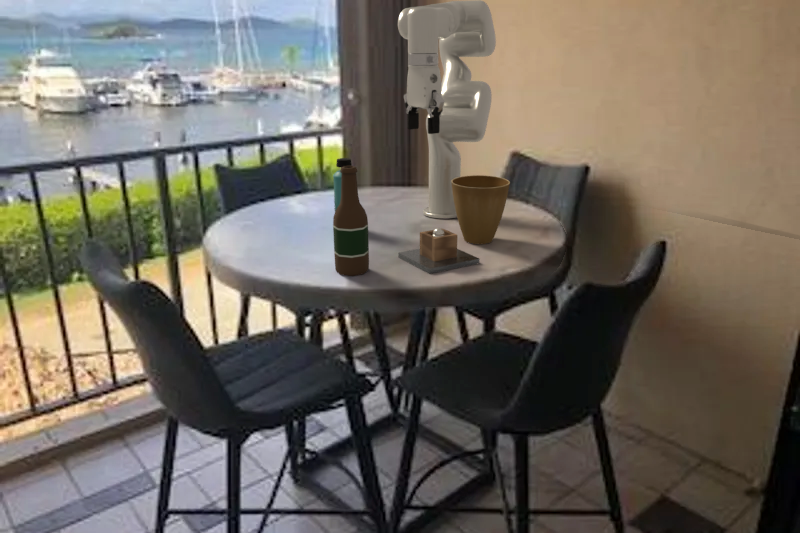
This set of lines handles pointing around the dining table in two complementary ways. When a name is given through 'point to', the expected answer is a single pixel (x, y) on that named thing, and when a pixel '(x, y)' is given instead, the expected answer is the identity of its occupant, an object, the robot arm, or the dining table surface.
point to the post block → (440, 265)
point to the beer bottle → (350, 228)
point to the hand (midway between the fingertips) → (423, 131)
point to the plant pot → (479, 205)
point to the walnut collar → (438, 245)
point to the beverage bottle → (339, 180)
